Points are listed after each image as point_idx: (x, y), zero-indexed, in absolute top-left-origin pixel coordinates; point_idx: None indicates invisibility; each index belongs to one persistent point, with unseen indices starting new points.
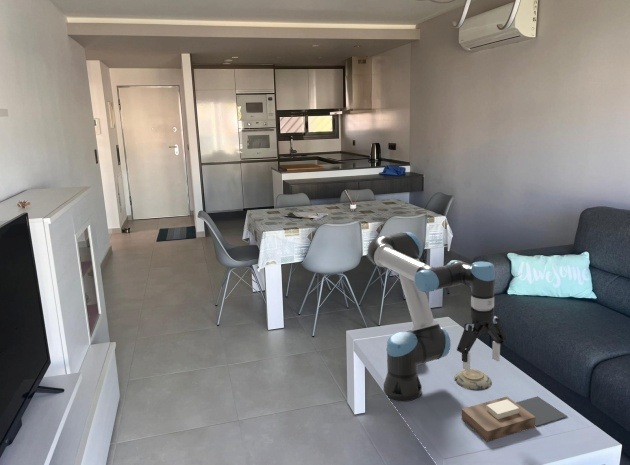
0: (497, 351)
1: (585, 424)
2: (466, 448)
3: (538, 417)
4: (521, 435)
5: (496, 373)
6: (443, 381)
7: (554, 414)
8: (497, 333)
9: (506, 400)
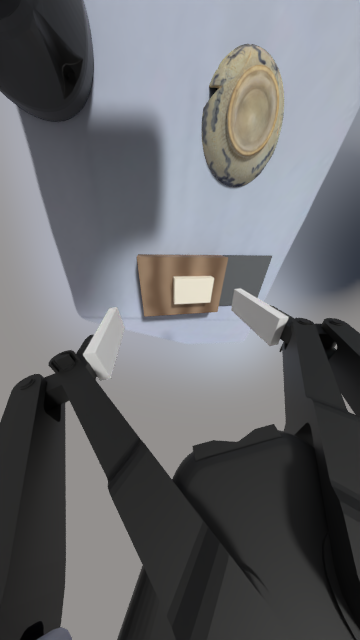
0: (249, 324)
1: None
2: None
3: (229, 295)
4: None
5: (304, 132)
6: (179, 65)
7: None
8: (341, 347)
9: (210, 280)
